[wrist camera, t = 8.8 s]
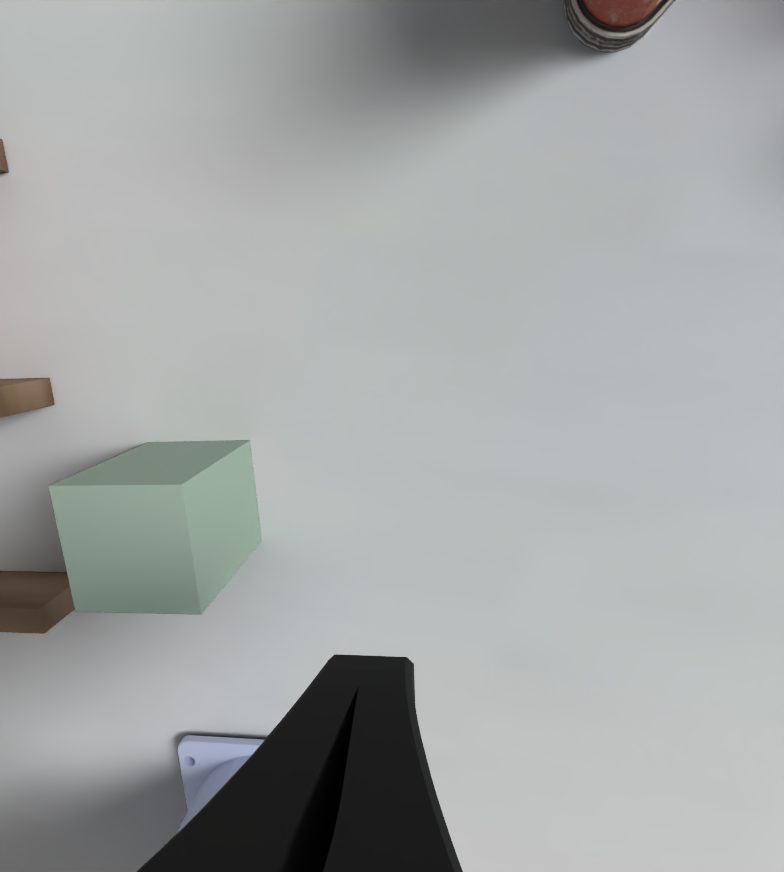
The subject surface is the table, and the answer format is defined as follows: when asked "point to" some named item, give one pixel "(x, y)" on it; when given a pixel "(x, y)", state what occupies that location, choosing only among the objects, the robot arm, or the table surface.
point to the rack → (30, 591)
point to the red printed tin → (613, 21)
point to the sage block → (158, 526)
